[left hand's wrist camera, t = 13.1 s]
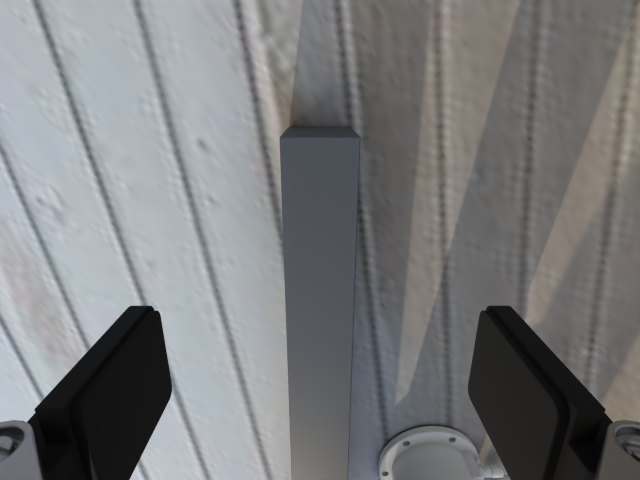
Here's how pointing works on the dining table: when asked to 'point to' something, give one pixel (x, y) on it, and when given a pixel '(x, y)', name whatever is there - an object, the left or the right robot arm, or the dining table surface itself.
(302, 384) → the beam
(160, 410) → the left robot arm
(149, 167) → the dining table surface
